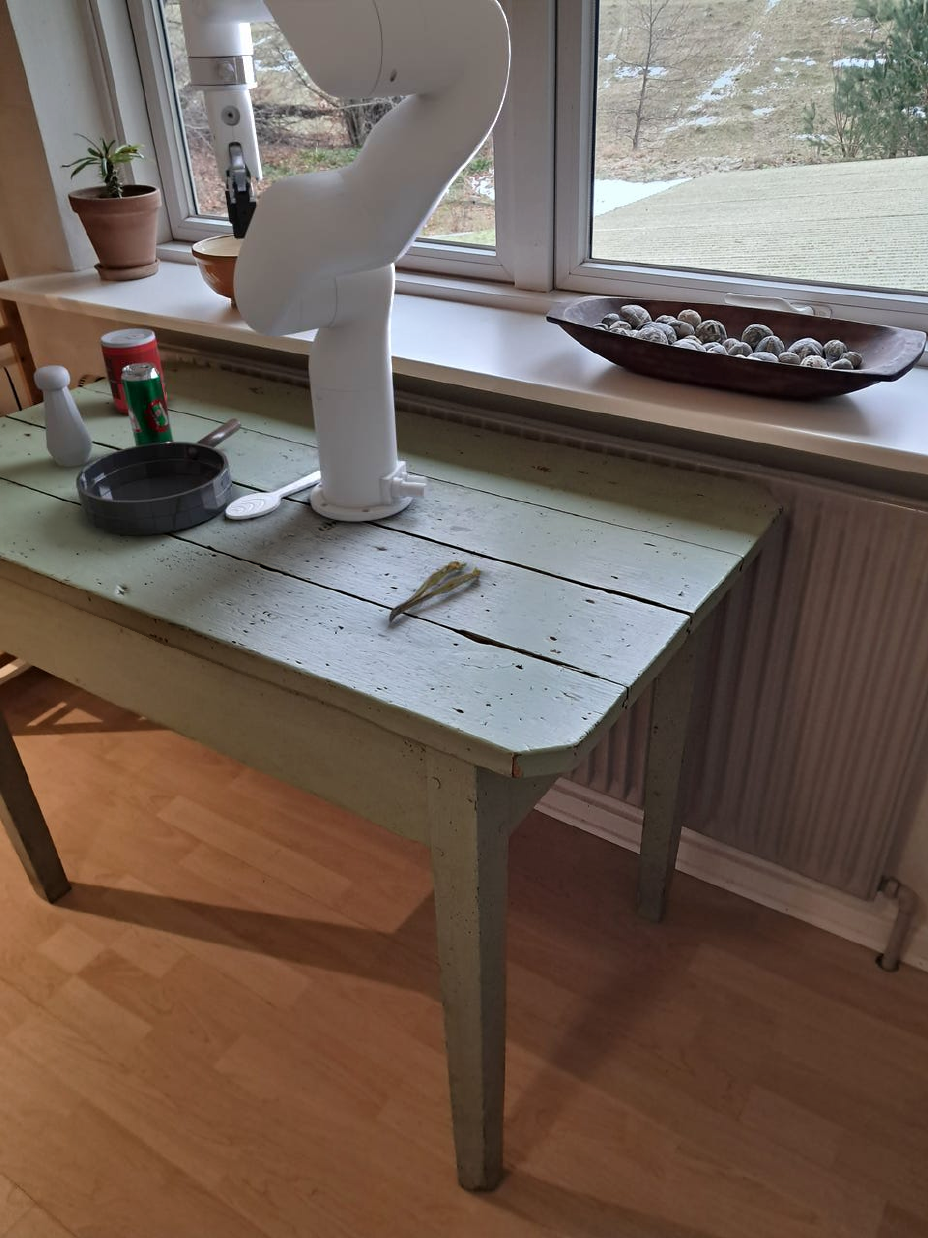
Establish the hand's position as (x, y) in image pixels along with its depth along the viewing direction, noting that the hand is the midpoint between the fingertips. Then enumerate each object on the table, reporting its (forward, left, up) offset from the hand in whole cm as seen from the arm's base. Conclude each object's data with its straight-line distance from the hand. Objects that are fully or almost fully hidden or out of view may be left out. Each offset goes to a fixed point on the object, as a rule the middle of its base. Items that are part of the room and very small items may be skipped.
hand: (244, 229), depth 121 cm
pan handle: (+4, +8, -26) cm, 28 cm away
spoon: (-10, +15, -28) cm, 34 cm away
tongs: (-37, +33, -28) cm, 57 cm away
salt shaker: (+23, +14, -28) cm, 39 cm away
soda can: (+14, +8, -28) cm, 33 cm away
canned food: (+27, -7, -28) cm, 40 cm away
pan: (+4, +22, -28) cm, 36 cm away
